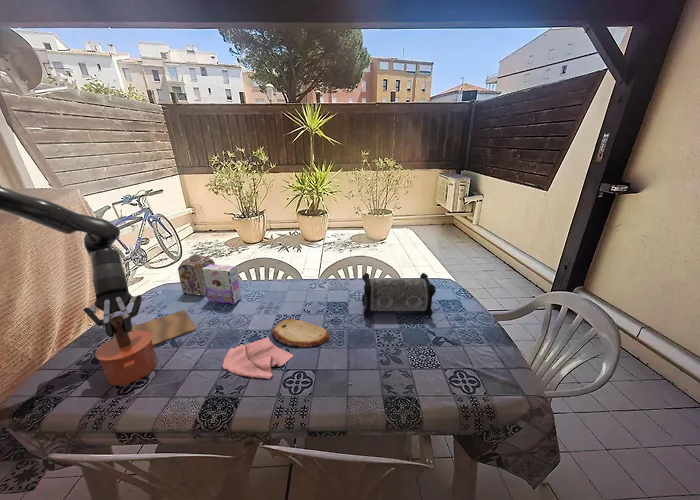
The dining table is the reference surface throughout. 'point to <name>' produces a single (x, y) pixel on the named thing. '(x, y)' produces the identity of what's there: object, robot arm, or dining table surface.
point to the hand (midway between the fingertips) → (120, 333)
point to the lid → (122, 342)
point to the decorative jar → (193, 274)
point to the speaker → (398, 295)
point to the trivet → (167, 327)
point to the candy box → (221, 283)
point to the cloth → (255, 359)
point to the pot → (130, 367)
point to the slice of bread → (299, 333)
